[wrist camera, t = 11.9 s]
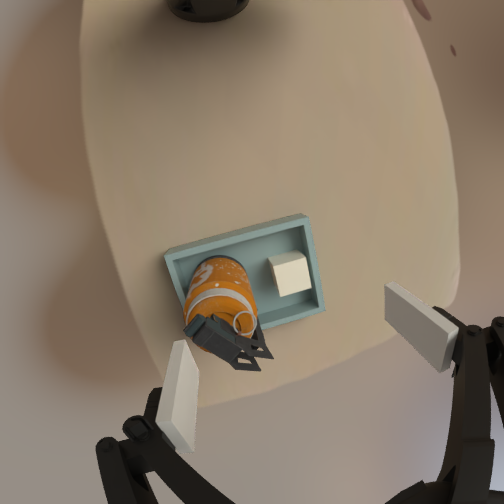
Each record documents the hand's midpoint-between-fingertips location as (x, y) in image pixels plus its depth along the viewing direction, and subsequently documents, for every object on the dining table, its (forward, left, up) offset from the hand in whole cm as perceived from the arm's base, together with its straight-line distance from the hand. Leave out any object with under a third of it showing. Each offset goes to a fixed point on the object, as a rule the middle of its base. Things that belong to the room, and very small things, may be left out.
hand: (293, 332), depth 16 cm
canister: (+6, -6, -29) cm, 30 cm away
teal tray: (+6, -2, -29) cm, 30 cm away
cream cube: (+6, +5, -28) cm, 29 cm away
